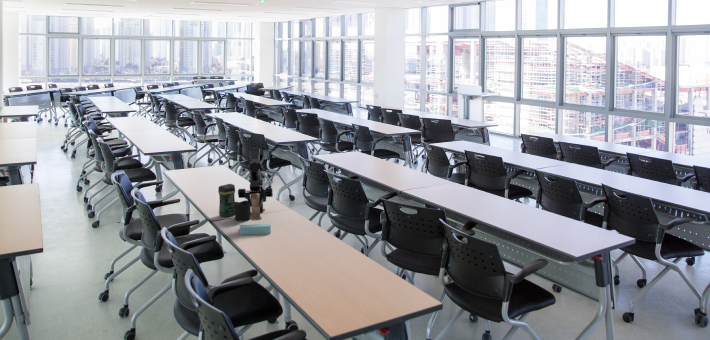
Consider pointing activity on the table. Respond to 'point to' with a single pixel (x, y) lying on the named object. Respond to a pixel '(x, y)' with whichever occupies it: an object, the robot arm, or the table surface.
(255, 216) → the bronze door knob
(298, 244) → the table surface
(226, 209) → the coffee jar
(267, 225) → the notched board
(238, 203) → the pen holder
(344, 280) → the table surface
